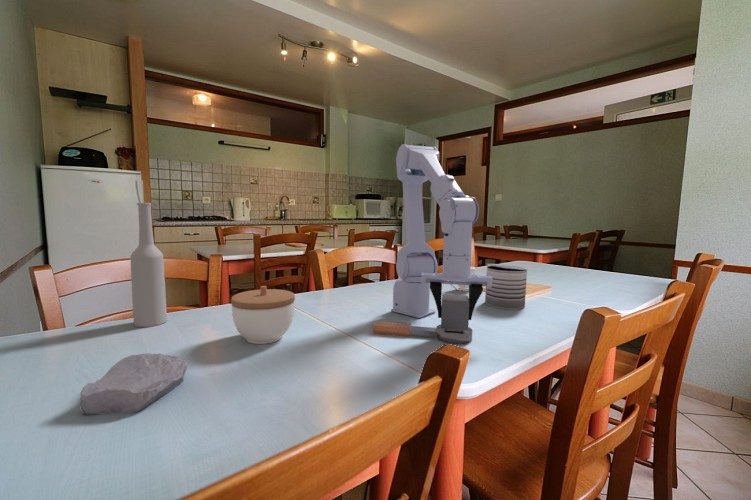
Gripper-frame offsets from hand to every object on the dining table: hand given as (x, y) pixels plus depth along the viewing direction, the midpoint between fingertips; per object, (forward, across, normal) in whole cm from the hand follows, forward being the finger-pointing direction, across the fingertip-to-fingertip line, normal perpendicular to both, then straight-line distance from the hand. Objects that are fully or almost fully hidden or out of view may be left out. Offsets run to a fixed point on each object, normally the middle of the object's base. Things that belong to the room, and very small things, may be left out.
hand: (454, 317), depth 75 cm
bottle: (+5, -70, -7) cm, 70 cm away
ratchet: (+5, -7, 0) cm, 8 cm away
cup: (+5, +4, +50) cm, 50 cm away
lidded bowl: (+5, -39, -10) cm, 41 cm away
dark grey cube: (+2, 0, 0) cm, 2 cm away
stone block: (+5, -45, -34) cm, 57 cm away
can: (+5, +15, +33) cm, 36 cm away
